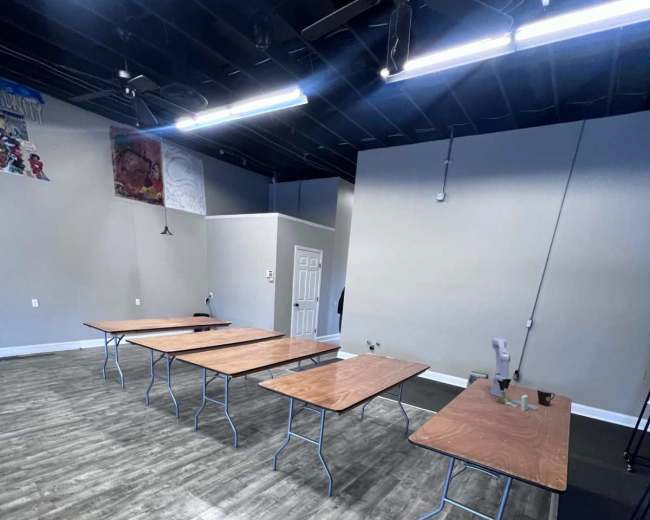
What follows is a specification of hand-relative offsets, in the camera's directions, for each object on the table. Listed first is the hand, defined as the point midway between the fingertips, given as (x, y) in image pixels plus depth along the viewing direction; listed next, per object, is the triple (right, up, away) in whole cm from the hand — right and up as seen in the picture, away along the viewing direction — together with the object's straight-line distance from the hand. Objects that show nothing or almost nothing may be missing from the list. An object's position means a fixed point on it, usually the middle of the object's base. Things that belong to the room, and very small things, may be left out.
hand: (504, 389), depth 216 cm
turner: (+1, -9, -3) cm, 10 cm away
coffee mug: (+31, -12, 0) cm, 34 cm away
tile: (+7, -9, -11) cm, 16 cm away
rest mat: (+13, -10, -2) cm, 17 cm away
